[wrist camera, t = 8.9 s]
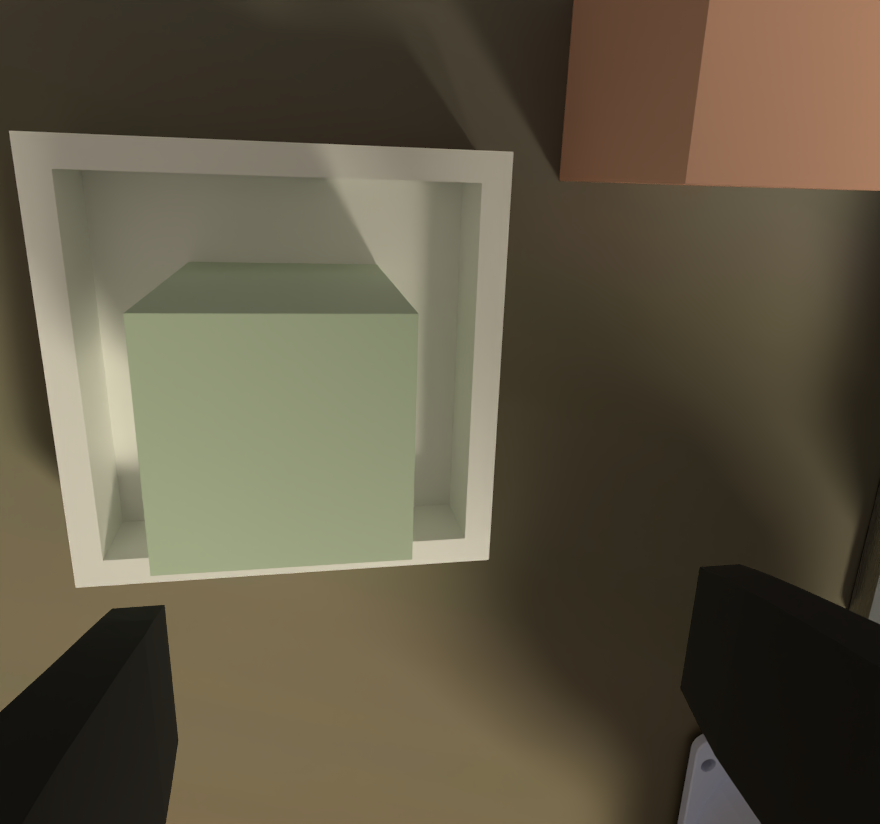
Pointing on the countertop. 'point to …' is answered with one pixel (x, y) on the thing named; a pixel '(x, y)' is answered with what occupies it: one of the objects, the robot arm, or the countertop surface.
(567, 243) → the countertop surface
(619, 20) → the terracotta block
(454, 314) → the off-white tray
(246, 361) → the sage green block
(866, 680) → the robot arm
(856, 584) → the grey unit
